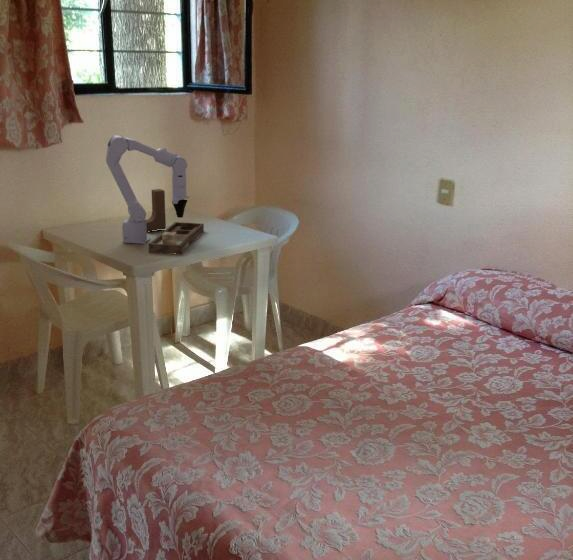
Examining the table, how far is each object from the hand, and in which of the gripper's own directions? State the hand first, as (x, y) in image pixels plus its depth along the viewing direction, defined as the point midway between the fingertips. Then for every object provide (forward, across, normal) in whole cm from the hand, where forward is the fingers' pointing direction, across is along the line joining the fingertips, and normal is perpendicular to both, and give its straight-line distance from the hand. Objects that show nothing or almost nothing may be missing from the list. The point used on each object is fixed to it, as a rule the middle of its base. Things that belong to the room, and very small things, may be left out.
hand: (180, 217), depth 279 cm
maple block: (+7, -16, 0) cm, 18 cm away
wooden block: (+10, +11, +15) cm, 21 cm away
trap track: (+9, -4, 0) cm, 10 cm away
